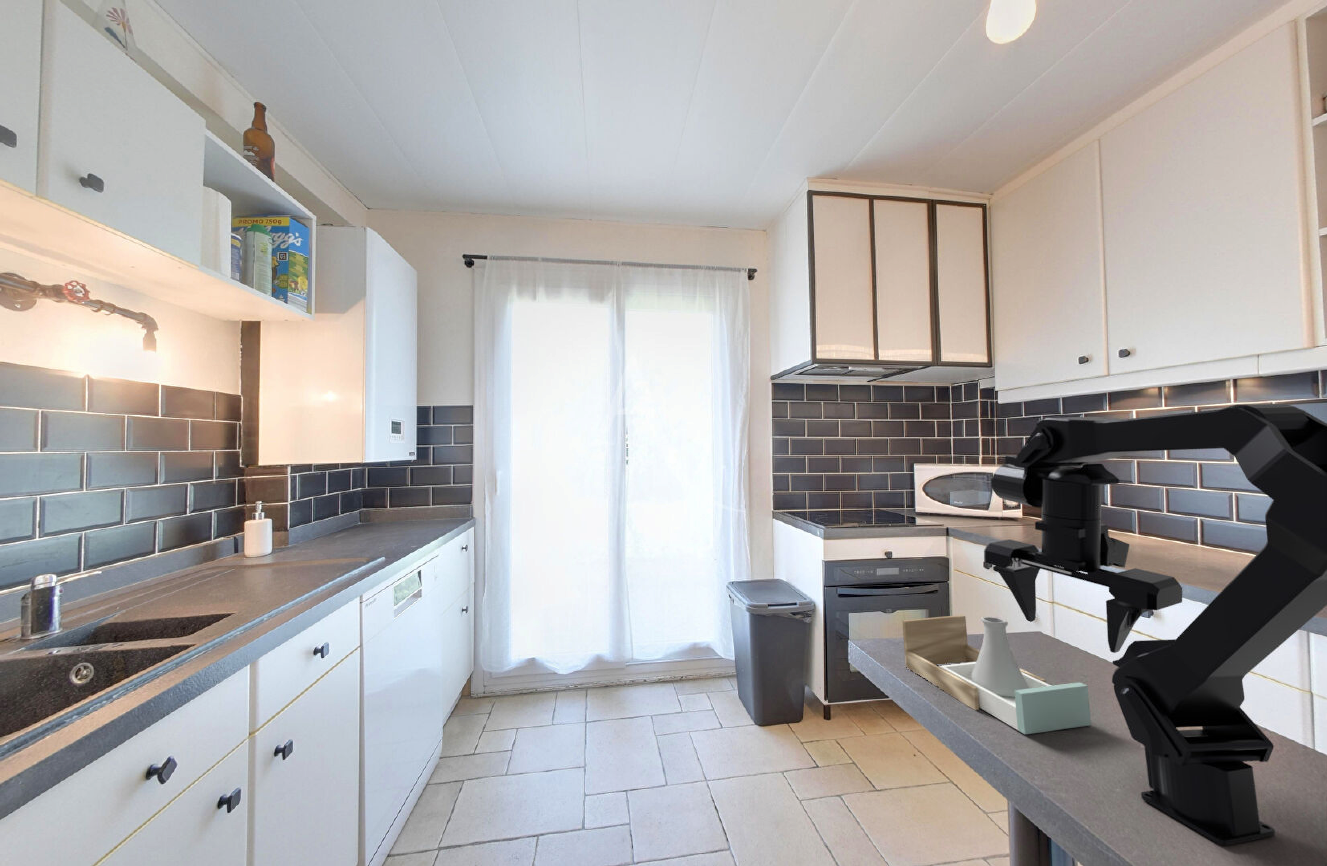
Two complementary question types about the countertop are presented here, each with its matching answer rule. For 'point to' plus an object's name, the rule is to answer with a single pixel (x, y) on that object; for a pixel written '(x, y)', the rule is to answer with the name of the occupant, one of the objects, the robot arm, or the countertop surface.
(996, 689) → the flask
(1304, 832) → the countertop surface
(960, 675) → the tray
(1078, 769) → the countertop surface
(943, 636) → the dock
